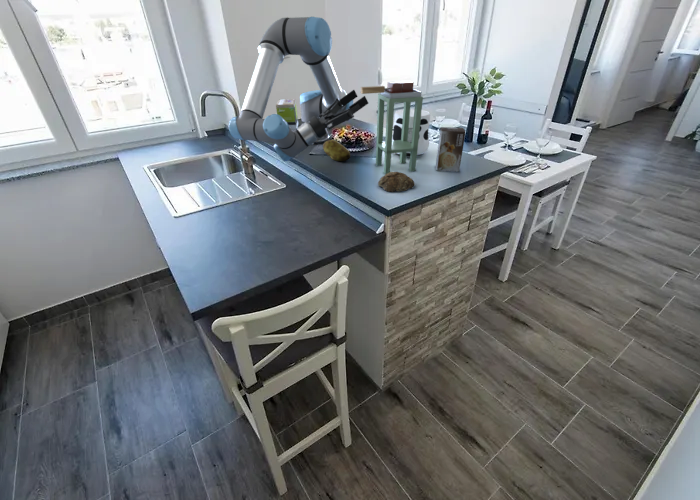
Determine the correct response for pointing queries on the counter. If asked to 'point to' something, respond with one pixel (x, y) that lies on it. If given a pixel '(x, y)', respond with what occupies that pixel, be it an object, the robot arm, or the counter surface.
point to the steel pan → (402, 94)
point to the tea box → (288, 112)
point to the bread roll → (396, 182)
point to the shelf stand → (403, 144)
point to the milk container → (423, 133)
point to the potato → (336, 150)
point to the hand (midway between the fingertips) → (361, 96)
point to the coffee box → (450, 149)
